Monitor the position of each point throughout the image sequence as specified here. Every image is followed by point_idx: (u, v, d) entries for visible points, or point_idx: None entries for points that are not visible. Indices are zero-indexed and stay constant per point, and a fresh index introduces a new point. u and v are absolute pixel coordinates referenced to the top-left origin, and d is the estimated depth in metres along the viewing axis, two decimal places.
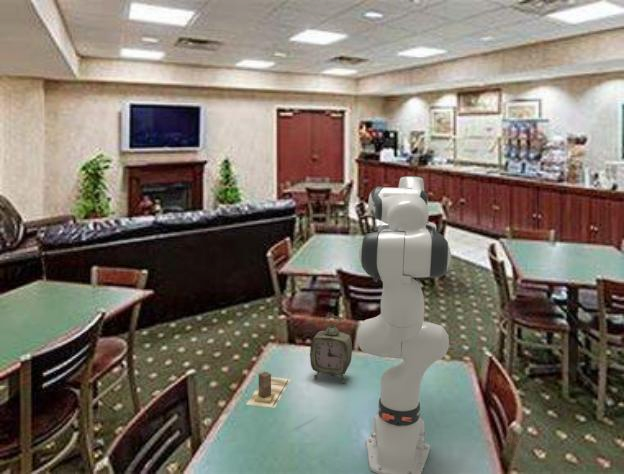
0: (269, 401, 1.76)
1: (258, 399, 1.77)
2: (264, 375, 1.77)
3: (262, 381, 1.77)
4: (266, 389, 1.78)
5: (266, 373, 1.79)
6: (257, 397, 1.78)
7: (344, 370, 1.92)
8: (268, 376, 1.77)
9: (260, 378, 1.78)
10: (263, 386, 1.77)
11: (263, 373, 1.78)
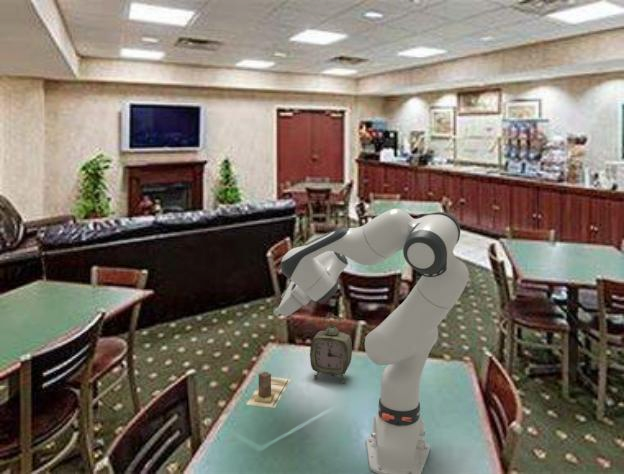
0: (269, 401, 1.76)
1: (258, 399, 1.77)
2: (264, 375, 1.77)
3: (262, 381, 1.77)
4: (266, 389, 1.78)
5: (266, 373, 1.79)
6: (257, 397, 1.78)
7: (344, 370, 1.92)
8: (268, 376, 1.77)
9: (260, 378, 1.78)
10: (263, 386, 1.77)
11: (263, 373, 1.78)
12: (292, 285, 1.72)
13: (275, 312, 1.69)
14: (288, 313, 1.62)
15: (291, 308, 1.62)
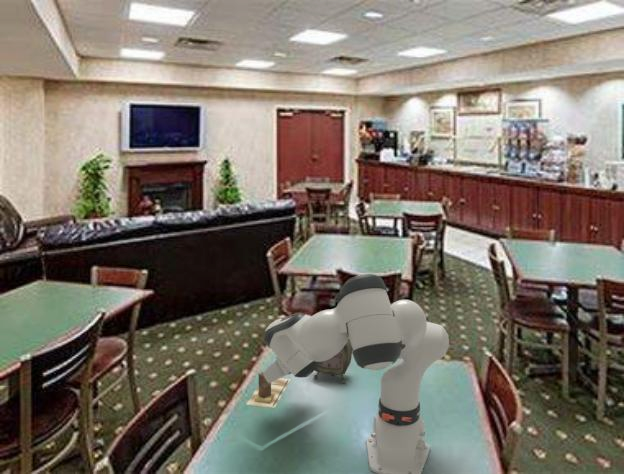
0: (269, 401, 1.76)
1: (258, 399, 1.77)
2: None
3: (262, 381, 1.77)
4: (266, 389, 1.78)
5: None
6: (257, 397, 1.78)
7: (344, 370, 1.92)
8: None
9: (260, 378, 1.78)
10: (263, 386, 1.77)
11: None
12: None
13: None
14: (270, 378, 1.60)
15: (273, 374, 1.59)
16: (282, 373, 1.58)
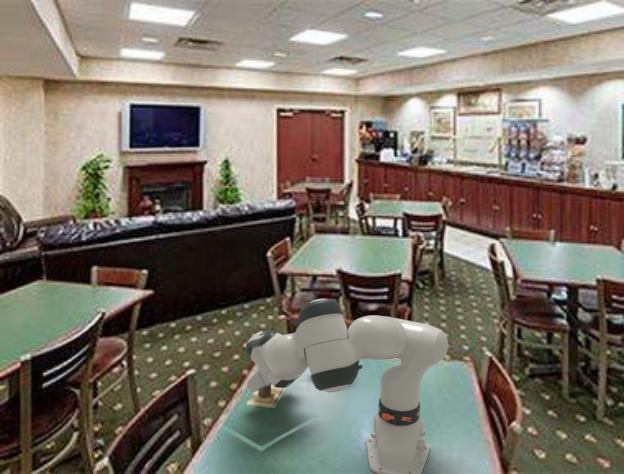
0: (269, 401, 1.76)
1: (258, 399, 1.77)
2: None
3: None
4: (266, 389, 1.78)
5: None
6: (257, 397, 1.78)
7: None
8: None
9: None
10: None
11: None
12: None
13: None
14: (253, 388, 1.67)
15: (255, 384, 1.67)
16: (264, 383, 1.65)
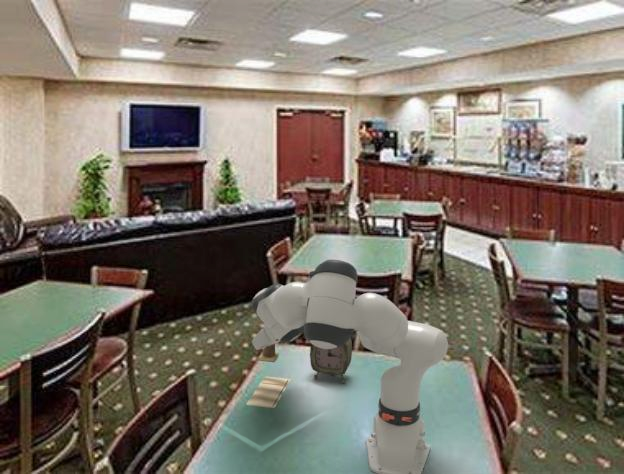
0: (273, 360, 1.80)
1: (263, 358, 1.81)
2: None
3: None
4: (270, 349, 1.81)
5: None
6: (261, 357, 1.82)
7: (344, 370, 1.92)
8: None
9: None
10: None
11: None
12: None
13: None
14: (258, 345, 1.71)
15: (260, 341, 1.70)
16: (269, 340, 1.69)
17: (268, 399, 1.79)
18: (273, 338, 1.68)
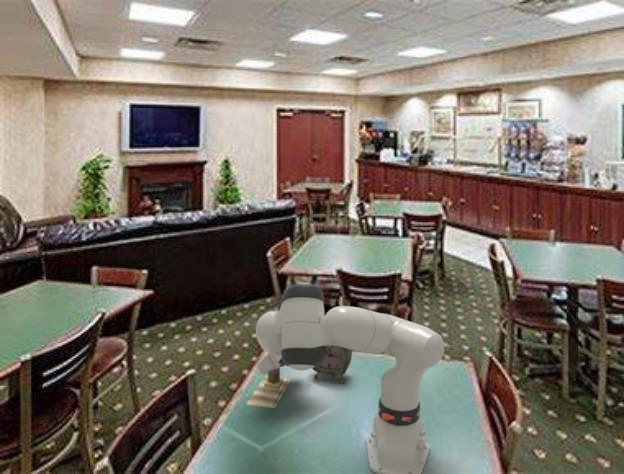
0: (278, 386, 1.87)
1: (268, 384, 1.88)
2: None
3: None
4: (275, 375, 1.88)
5: None
6: (267, 383, 1.89)
7: (344, 370, 1.92)
8: None
9: None
10: (272, 372, 1.88)
11: None
12: None
13: None
14: (263, 371, 1.78)
15: (265, 367, 1.77)
16: (274, 366, 1.76)
17: (268, 399, 1.79)
18: (277, 364, 1.74)
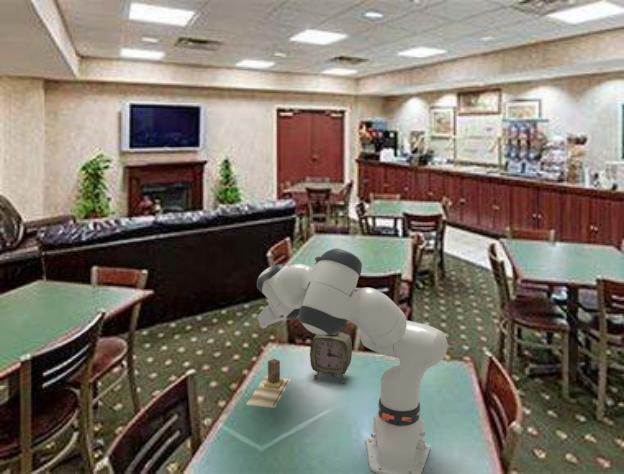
0: (278, 386, 1.87)
1: (268, 384, 1.88)
2: (273, 362, 1.88)
3: (272, 367, 1.88)
4: (275, 375, 1.88)
5: (275, 360, 1.89)
6: (267, 383, 1.89)
7: (344, 370, 1.92)
8: (277, 363, 1.88)
9: (269, 365, 1.88)
10: (272, 372, 1.88)
11: (273, 360, 1.89)
12: None
13: None
14: (263, 322, 1.75)
15: (265, 318, 1.74)
16: (274, 316, 1.73)
17: (268, 399, 1.79)
18: (278, 314, 1.72)
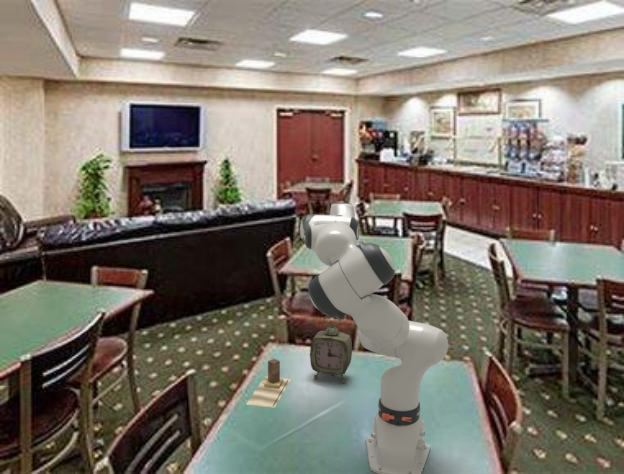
0: (278, 386, 1.87)
1: (268, 384, 1.88)
2: (273, 362, 1.88)
3: (272, 367, 1.88)
4: (275, 375, 1.88)
5: (275, 360, 1.89)
6: (267, 383, 1.89)
7: (344, 370, 1.92)
8: (277, 363, 1.88)
9: (269, 365, 1.88)
10: (272, 372, 1.88)
11: (273, 360, 1.89)
12: None
13: None
14: None
15: None
16: None
17: (268, 399, 1.79)
18: None
